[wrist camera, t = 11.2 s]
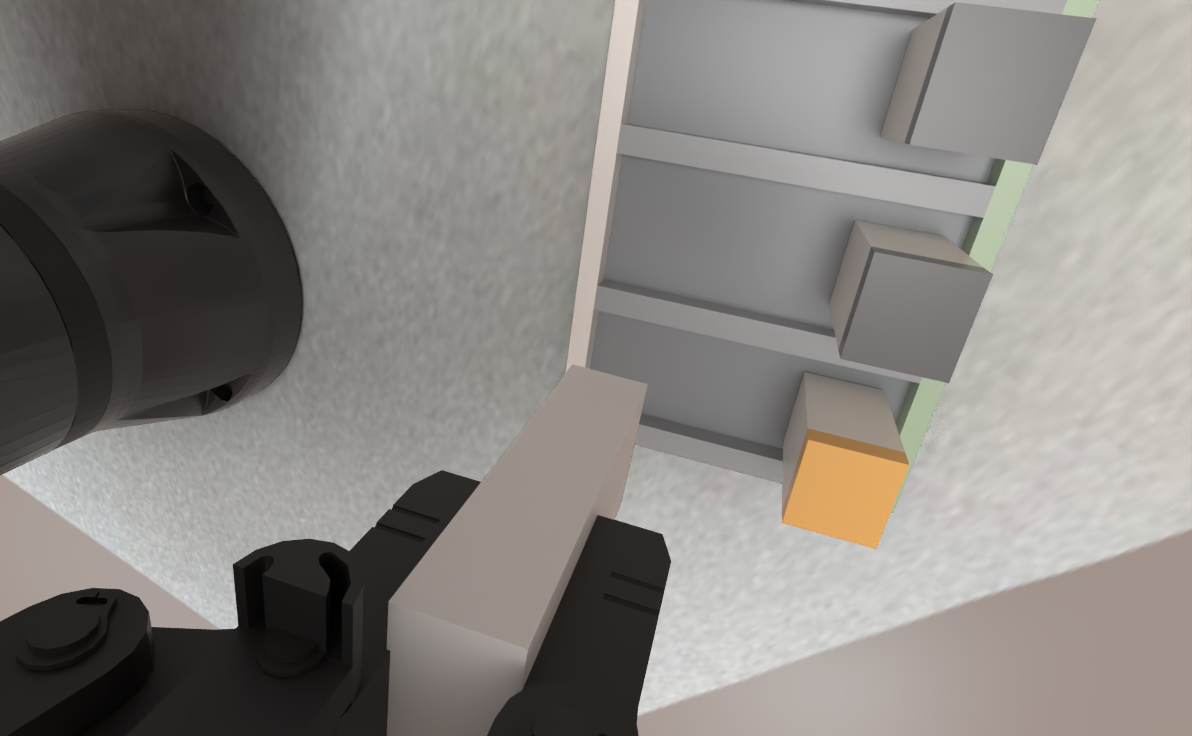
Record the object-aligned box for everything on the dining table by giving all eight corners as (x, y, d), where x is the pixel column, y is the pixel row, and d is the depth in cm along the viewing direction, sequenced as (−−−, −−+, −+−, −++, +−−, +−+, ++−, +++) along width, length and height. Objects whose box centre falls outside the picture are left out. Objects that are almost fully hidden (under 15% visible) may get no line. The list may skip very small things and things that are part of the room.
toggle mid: (828, 305, 24) (840, 358, 19) (854, 219, 23) (874, 251, 17) (913, 322, 23) (948, 383, 18) (944, 236, 22) (992, 274, 17)
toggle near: (880, 136, 22) (909, 144, 16) (912, 30, 20) (955, 1, 15) (975, 151, 21) (1037, 164, 16) (1015, 43, 20) (1096, 18, 14)
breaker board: (573, 403, 30) (558, 424, 28) (637, -46, 23) (623, -61, 21) (885, 484, 27) (893, 513, 25) (1071, 3, 20) (1103, -9, 18)
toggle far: (783, 441, 26) (782, 522, 21) (804, 371, 25) (808, 439, 20) (858, 460, 26) (875, 548, 21) (883, 390, 25) (909, 465, 19)
